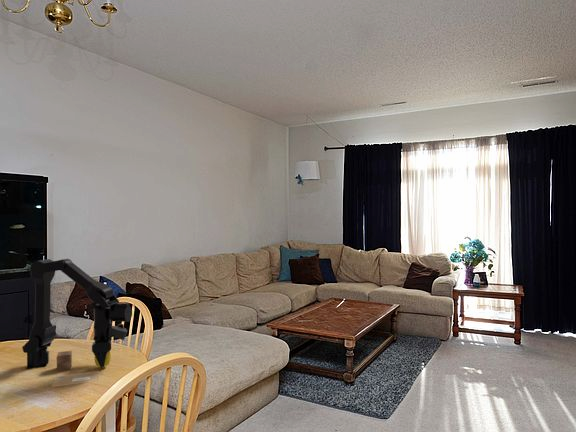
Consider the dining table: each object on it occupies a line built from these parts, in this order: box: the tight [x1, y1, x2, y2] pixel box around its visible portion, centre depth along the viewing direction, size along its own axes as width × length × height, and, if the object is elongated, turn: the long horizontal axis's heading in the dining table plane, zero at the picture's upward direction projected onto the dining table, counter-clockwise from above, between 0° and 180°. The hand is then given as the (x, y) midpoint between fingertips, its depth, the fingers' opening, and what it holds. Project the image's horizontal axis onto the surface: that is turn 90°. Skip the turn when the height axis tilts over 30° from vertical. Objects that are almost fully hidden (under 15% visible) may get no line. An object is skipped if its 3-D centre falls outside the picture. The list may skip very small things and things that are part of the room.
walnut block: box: [56, 350, 73, 373], centre depth 158 cm, size 4×4×6 cm
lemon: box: [94, 350, 112, 369], centre depth 159 cm, size 6×6×8 cm
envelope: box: [51, 370, 100, 388], centre depth 148 cm, size 14×10×1 cm
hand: (102, 363), depth 159 cm, fingers open, 8 cm apart
